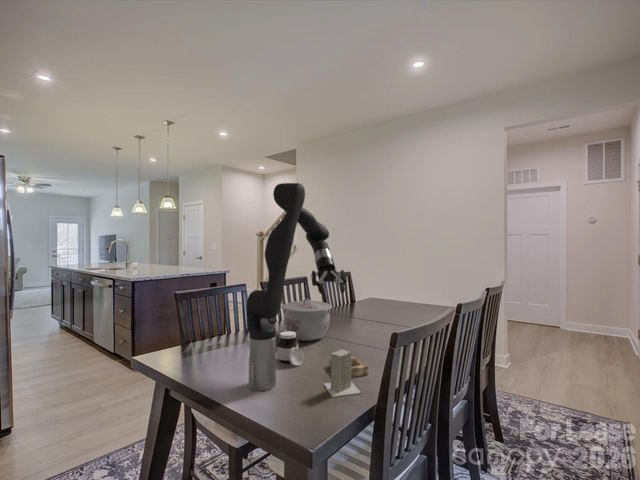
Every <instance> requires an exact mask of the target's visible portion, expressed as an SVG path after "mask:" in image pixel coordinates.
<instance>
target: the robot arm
mask: <svg viewBox="0 0 640 480" xmlns="http://www.w3.org/2000/svg"><path fill="white" fill-rule="evenodd" d="M272 196H273V200H274V202H275V203H276V205H277V206H278V207H280V209H282V210H283V211H284V212H285V214H284V216H283V218H282V219H281V220H280V222H278V223H277V225H275V227H274V228H273V229H272V230H271V231H270V233H269V235H268V238H267V242H266V245H265V250H264V259H265V263H266V268H267V271H268V272H267V273H268V281H267V286H266V290H262V289H255V290H253V291H251V292H250V294H249V295H248V296H247V300H246V305H245V306H246V309H245V310H246V327H247V331H248V334H249V336H248V337H249V341H248V342H249V347H248V348H249V349H248V350H249V352H248V353H249V354H248V356H249V357H248V388H249V391H258V392H259V391H261V392H263V391H269V390H271V389H274V388H275V387H276V386H277V385H276V383H277V378H276V377H277V375H276V373H277V370H276V369H277V364H276V363H277V330H276V327H275V326H274V325H273V324H272V323H270V320H271V319H274V318H276V317H277V316H278V315H279V313H280V311H281V306H282V302H283V296H284V294H283V293H284V288H285V287H284V286H285V279H286V274H287V269H288V265H289V259H290V256H291V252H292V247H293V243H294V238H295V233H296V230H297V226H298V225H299V226H300V227H301V228H302V230H303V231H304V232H305V233H306V234H305V238H306V241H307V242H308V244H309V245H310V246H311V248H312V250H313V251H312V252H313V255H314V262H315V263H314V264H315V265H316V270H317V271H315V270H311V274H310V277H311V284H312V286H314V287H315V286H316V287H317V291H318V292H319V294H321V295H323V294H324V287H323V283H324V282H325V283H329V282H330V283H332V282H333V283H334V284H337V285H338V287H339V290H340V294H344V292H345V291H346V288H345V285H347V282H348V278H347V276H346V273H345V271H344V269H341V270H340V271H338V270H336V266H335V262H334V259H333V255H332V253H331V250H330V246H329V244H328V242H327V241H326V240H328V238H329V236H330V232H329V229H328V228H327V227H326V225H324V224H323V223H321V222H320V221H318V220H317V219H316V218H315V216H314V215H313V214H312V213H311V212H310V211H309V210H307V209H306V208H304V203H305V198H306V191H305V187H304V185H303V183H299V182H284V183H282V182H281V183H278V184H276V185H275V187H274V189H273V194H272ZM297 224H298V225H297ZM317 277H318V278H319V280H317Z"/></svg>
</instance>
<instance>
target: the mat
mask: <svg viewBox="0 0 640 480" xmlns="http://www.w3.org/2000/svg"><path fill="white" fill-rule="evenodd" d="M323 386H324V387H325V388H326V390H327V392H328V393H329V395H330V396H331V397H332V398H339V397H345V396H353V395H360V394H362V393H361V391H360V390H359V389H358V388H357V386H356V385H355V384H354V383H353V382H352V381H351V387H349V388H347V389H345V390H343V391H341V392H339V391H337V390H334V389H332V388H331V382H325V383H323Z"/></svg>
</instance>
